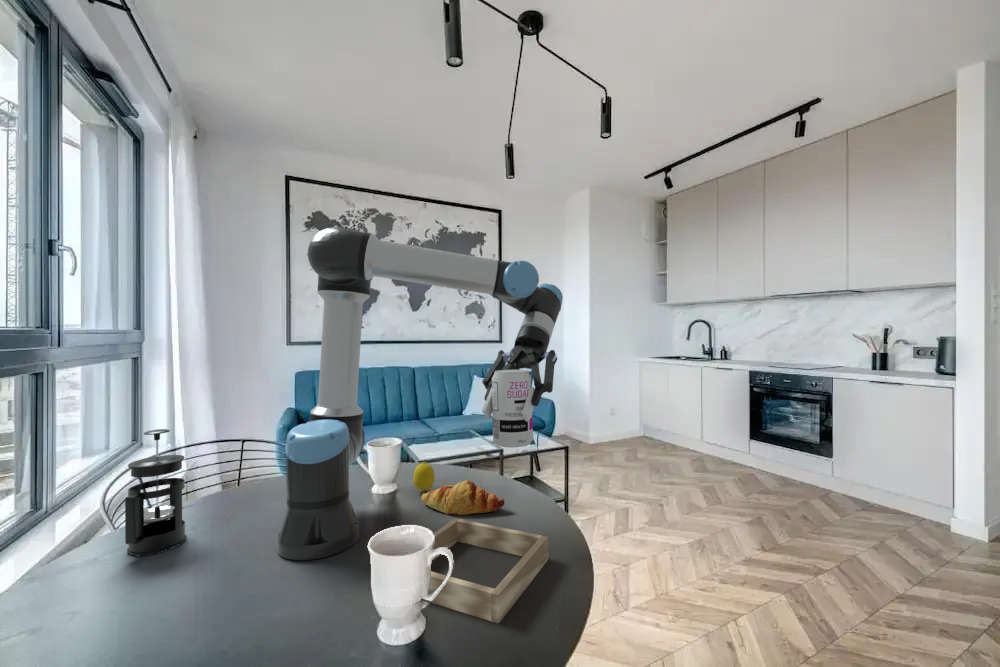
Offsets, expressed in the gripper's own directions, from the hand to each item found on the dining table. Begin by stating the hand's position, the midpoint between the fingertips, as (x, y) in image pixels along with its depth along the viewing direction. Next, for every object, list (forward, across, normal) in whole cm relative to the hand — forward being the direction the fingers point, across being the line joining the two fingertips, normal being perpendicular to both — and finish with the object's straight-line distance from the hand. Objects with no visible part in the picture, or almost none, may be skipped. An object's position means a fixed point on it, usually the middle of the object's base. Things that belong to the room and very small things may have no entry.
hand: (505, 416), depth 87 cm
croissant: (+10, +17, -25) cm, 32 cm away
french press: (+40, +63, +5) cm, 75 cm away
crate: (+27, 0, -8) cm, 28 cm away
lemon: (+7, +32, -28) cm, 43 cm away
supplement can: (+2, 0, -7) cm, 7 cm away
